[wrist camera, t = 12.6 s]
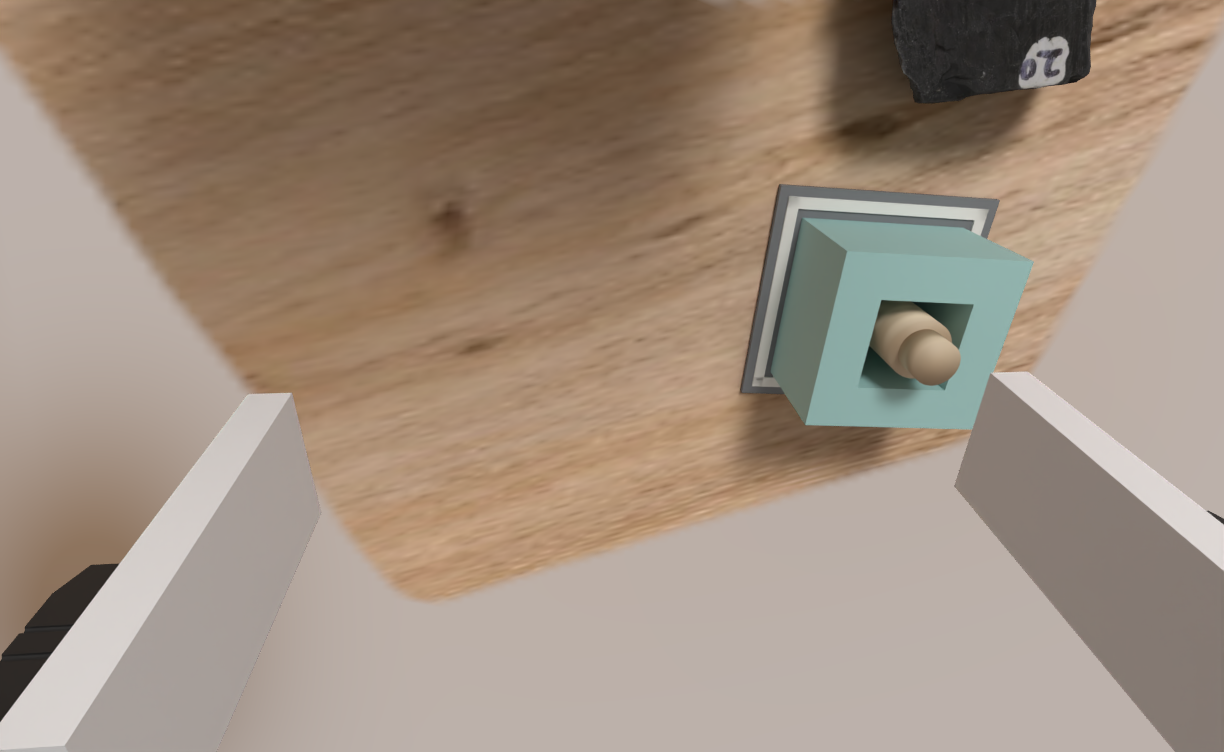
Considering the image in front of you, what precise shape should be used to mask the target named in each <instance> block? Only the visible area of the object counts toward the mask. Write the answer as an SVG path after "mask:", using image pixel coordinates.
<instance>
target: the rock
mask: <svg viewBox="0 0 1224 752" xmlns="http://www.w3.org/2000/svg"><path fill="white" fill-rule="evenodd" d="M1095 7H1096V0H893V7H892V29H893V35H894V44H895V46H896V49H897V51H898V56H899V62H900V66H901V68H902V71H903V73H904V74H905V75H906V76H907V77H908V79H909V82H910V88H911V89H912V91H913V98H914V101H915V102H917V103H940V102H948V101H960V100H962V99H964V98H965V97H969V96H973V95H978V94H991V93H997V92H1006V91H1013V90H1021V89H1036V88H1041V87H1046V86H1054V85H1063V84H1068V83H1074V82H1077V81H1078V80H1080V79H1082V78H1084V77H1085V76H1087V75H1088V74H1089V72H1090V67H1091V62H1090V43H1091V31H1092V27H1093V14H1094V11H1095Z"/></svg>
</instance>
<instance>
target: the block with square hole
mask: <svg viewBox="0 0 1224 752" xmlns="http://www.w3.org/2000/svg"><path fill="white" fill-rule="evenodd" d="M1033 263H1034V262H1033V261H1031V260H1029V259H1027V258H1025V257H1023V256H1021V255H1019V254H1017V253H1015V252H1013V251H1011V250H1008V249H1006V248H1004V247H1002V246H1000V245H998V244H996V243H994V242H992V241H990V240H988V239H986V238H984V237H982V236H979V235H977V234H975V233H973V232H971V231H969V230H967V229H965V228H961V227H945V226H929V225H913V224H896V223H880V222H864V221H848V220H832V219H816V218H802V221H801V226H800V231H799V235H798V240H797V245H796V250H795V255H794V260H793V264H792V269H791V274H790V279H789V284H788V289H787V293H786V298H785V303H784V308H783V313H782V318H781V322H780V327H779V332H778V337H777V342H776V347H775V352H774V356H773V361H772V366H771V371H770V372H771V373H772V375H773V377H774V378H775V380H776V381H777V383H778V384H779V386H780V387H781V389H782V390H783V392H784V393H785V395H786V396H787V398H788V399H789V401H790V403H791V404H792V406H793V407H794V409H795V410H796V412H797V413H798V415H799V416H800V418H801V419H802V421H803V422H804V424H805V425H822V426H861V427H900V428H938V429H972V428H973V425H974V423H975V420H976V416H977V413H978V410H979V407H980V404H981V401H982V398H983V395H984V391H985V388H986V385H987V382H988V379H989V376H990V373H993V371H994V368H995V366H996V363H997V360H998V358H999V355H1000V352H1001V349H1002V347H1003V344H1004V341H1005V339H1006V336H1007V333H1008V330H1009V328H1010V325H1011V322H1012V320H1013V317H1014V314H1015V312H1016V309H1017V306H1018V303H1019V301H1020V298H1021V295H1022V293H1023V290H1024V287H1025V284H1026V282H1027V279H1028V276H1029V274H1030V271H1031V268H1032V265H1033ZM881 300H892V301H912V302H913V303H914V304H916V305H917V306H918V307H920V308H921V309H922V310H923V311H925V312H926V313H927V314H929V315H930V316H931V317H933V318H934V319H935V320H937V321H938V322H939V323H941V324H942V325H943V326H945V327H946V328H947V329H948V331H949V332H950V335H951V338H952V344H953V345H954V346H956V347H957V348H958V350H959V352H960V355H961V361H960V365H959V368H958V370H957V371H956V373H955V374H954V375H953V376H952V377H951V378H950V379H949V380H947V381H945V382H944V383H941V384H938V385H933V386H929V385H924V384H922V383H920V382H919V381H917V380H916V379H915V378H914V379H912V378H906V377H903V376H901V375H899V374H898V373H896V372H895V371H894V370H893V369H892V368H891V367H890V366H889V365H888V364H887V363H886V362H885V361H884V360H883V359H882V358H881V357H880V356H879V355H878V354H877V353H876V352H875V351H874V350H873V349H872V348H871V347H870V346H869V344H870V340H871V336H872V333H873V329H874V325H875V322H876V318H877V314H878V311H879V307H880V303H881Z"/></svg>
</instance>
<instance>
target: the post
mask: <svg viewBox="0 0 1224 752" xmlns="http://www.w3.org/2000/svg"><path fill="white" fill-rule="evenodd" d="M869 346H870V347H871V348H872V349H873V350H874V351H875V352H876V353H877V354H878V355H879V356H880V357H881V358H882V359H883V360H884V361H885V362H886V363H887V364H888V365H889V366H890V367H891V368H892V369H893V370H894V371H895V372H896V373H898V374H899V375H901V376H903V377H906V378H912V379H914V378H915V379H916V380H917V381H919V382H920V383H922V384H924V385H929V386H933V385H938V384H941V383H944V382H945V381H947V380H949V379H950V378H951V377H952V376H953V375H954V374H955V373H956V371H957V370H958V368H959V365H960V361H961V355H960V352H959V350H958V348H957V347H956V346H954V345H953V344H952V338H951V335H950V332H949V331H948V329H947V328H946V327H945V326H943V325H942V324H941V323H939V322H938V321H937V320H935V319H934V318H933V317H931V316H930V315H929V314H927V313H926V312H925V311H923V310H922V309H921V308H920V307H918V306H917V305H916V304H914V303H913V302H912V301H892V300H881V303H880V307H879V311H878V314H877V318H876V322H875V325H874V329H873V333H872V336H871V340H870V344H869Z"/></svg>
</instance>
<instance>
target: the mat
mask: <svg viewBox="0 0 1224 752" xmlns="http://www.w3.org/2000/svg"><path fill="white" fill-rule="evenodd" d="M999 201H1000V200H997V199H986V198H972V197H957V196H943V195H928V194H914V193H899V192H885V191H870V190H856V189H841V188H827V187H812V186H798V185H783V184H780V185H779V190H778V196H777V201H776V206H775V211H774V217H773V222H772V227H771V233H770V238H769V243H768V248H767V254H766V259H765V264H764V270H763V275H762V280H761V286H760V291H759V296H758V301H757V307H756V312H755V317H754V323H753V328H752V333H751V338H750V344H749V349H748V354H747V360H746V365H745V370H744V376H743V381H742V386H741V392H742V393H766V394H785V393H784V392H783V390H782V389H781V387H780V386H779V384H778V383H777V381H776V380H775V378H774V377H773V375H772V373H771V372H770V371H771V366H772V361H773V356H774V352H775V347H776V342H777V337H778V332H779V327H780V322H781V318H782V313H783V308H784V303H785V298H786V293H787V289H788V284H789V279H790V274H791V269H792V264H793V260H794V255H795V250H796V245H797V240H798V235H799V231H800V226H801V221H802V218H816V219H832V220H848V221H864V222H880V223H896V224H913V225H929V226H945V227H961V228H965V229H967V230H969V231H971V232H973V233H975V234H977V235H979V236H982V237H984V238H986V239H987V237H988V234H989V231H990V228H991V225H992V222H993V219H994V216H995V213H996V210H997V207H998V204H999Z"/></svg>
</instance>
